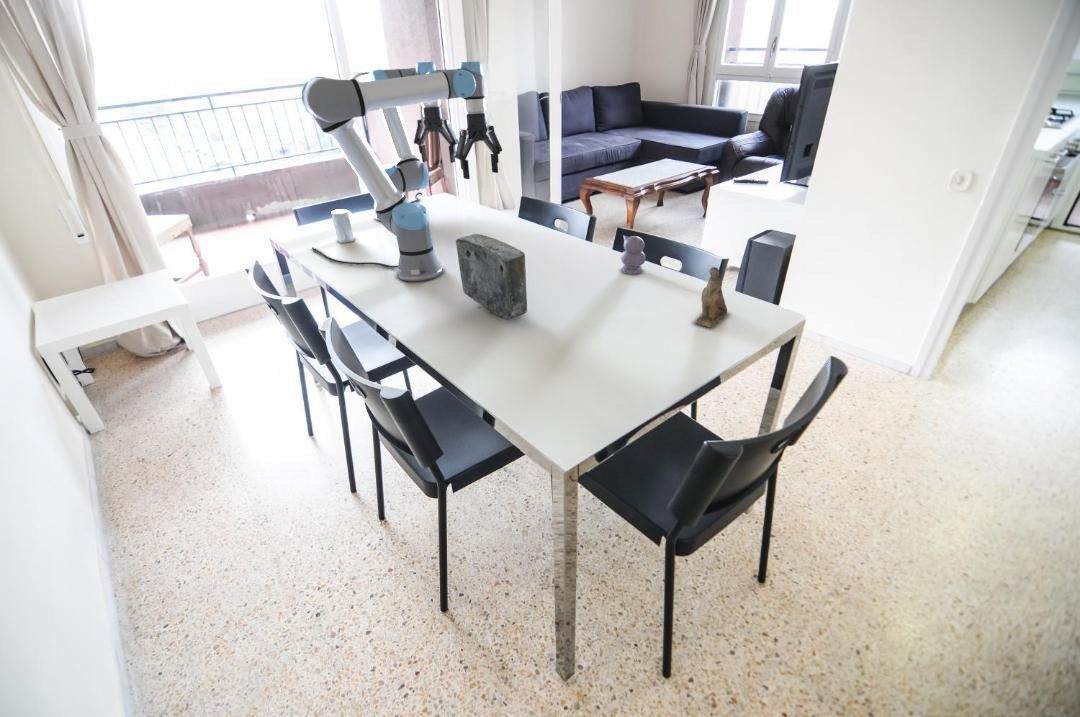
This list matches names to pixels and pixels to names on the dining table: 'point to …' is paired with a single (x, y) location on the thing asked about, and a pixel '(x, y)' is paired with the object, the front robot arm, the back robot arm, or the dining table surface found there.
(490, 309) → the concrete block
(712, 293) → the brown carved statuette
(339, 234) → the canister
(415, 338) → the dining table surface
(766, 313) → the dining table surface
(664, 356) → the dining table surface
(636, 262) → the cat figurine
